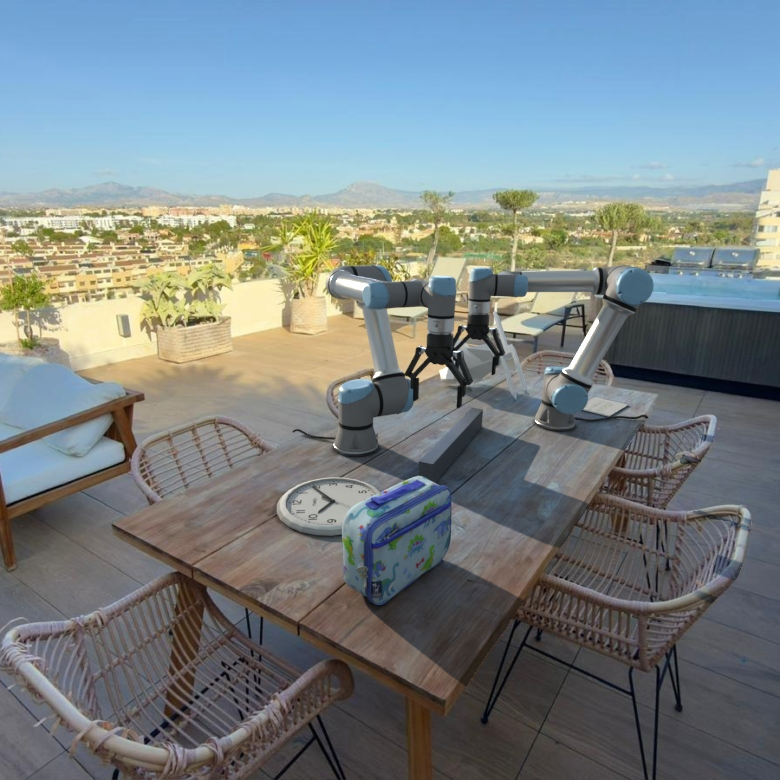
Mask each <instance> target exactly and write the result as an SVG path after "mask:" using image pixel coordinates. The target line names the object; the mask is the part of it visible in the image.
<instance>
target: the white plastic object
mask: <svg viewBox="0 0 780 780" xmlns="http://www.w3.org/2000/svg"><path fill="white" fill-rule="evenodd" d="M492 315H493V319H494V321H495V324H496V325H495V326H496V328H497V329H498V336H499V338H500V341H501V343H502V346H503V348H504V351H505V354H504V355H503V356H500V357H499V365H498V366H496V369H497V368H499V367H500V366H502V370H503V373H504V376H505V380H506V383H507V386H508V390H509V393H510V394H511V395H512V397H513V398H514V399H515V400H517V392H516V391H517V390H516V388H515V385H514V381H513V378H512V375H511V371H510V369H509V365H508V361H510V360H513V363H514V366H515V369H516V372H517V376H518V380H519V382H520V385H521V389H522V391H523V393H524V395H525V396H526V397H528V396H531V395H530V390H529V388H528V387H529V386H528V384H527V381H526V378H525V375H524V371H523V369H522V368H523V367H522V366H521V362H520V359H519V355H518V352H517V349H516V347H515V346H514V345H513V343H511V344H508V341H507V337H506V334H505V331H504V328H503V325H502V321H501V318H500V315H499V314H498V312H497V311H496V310H495V311H492ZM463 339H464V338H460V339H458V340H457V342H456V344H455V346H454V347H456V346H457V345H458V344H459V343H460V342H461V341H462V340H463ZM461 350H462V351H463V352H464V360H465V362H466V364H467V367H468V369H469V372H470V374H471V377H472V379H473V384H477V383H480V382H482V381H484V378H485V377H486V376H487V375H489V374H490V373H492V360H493V356H495V355H494V354H493V353H492V351H491V350H490V348H489V347H488V345H487V344H486V343H483V344H479V345H473V346H469V345H468V343H467V342H465V343H464V344H463V346H462V347H461V348H460V349H459V350H458V351H461ZM497 350H498V349H497ZM498 351H499V350H498ZM451 359H452V360H453V357H452V358H451ZM453 362H454V364H455V361H453ZM458 370H459V371H460V373H461V374H462V376H463V373H462V371H461V368H460V366H459V369H458ZM438 372H439V376H440V381H442V383H443V384H444V385H445V386H449V385H460V384H459V382H458V381H457V380H456V378H455V377H454V375H453V374H452V372H451V371H450V370H449V368H447V367H446V366H445V367H444V368H442V369H440V370H439V371H438ZM463 377H464V376H463Z"/></svg>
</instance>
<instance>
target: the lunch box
mask: <svg viewBox="0 0 780 780" xmlns="http://www.w3.org/2000/svg"><path fill="white" fill-rule="evenodd" d="M452 511H453V510H452V491H451V489H450V487H449V486H447V485H444V484H442V485H440V484H437V482H435V483H434V482H432V481H430V480H428V479H427V478H424V477H422V476H418V475H416V476H413V477H411V478H408V479H406V480H403V481H401V482H399V483H397V484H395V485H393V486H390V487H388V488H386V489H384V490H382V491H381V492H380V493H378V494H376V495H374V496H372V497H370V498H368V499H366V500H364V501H362V502H360V503H358V504H356V505H354V506H353V507H352V508H351V509H350V510H349V511H348V512H347V514H346V516H345V518H344V521H343V525H342V535H341V543H342V544H341V545H342V569H343V578H344V583H345V585H346V586H347V587H349V588H351V589H352V590H354V591H356V592H357V593H360V594H361V595H362V596H363V597H365V598H367V601H369V603H372V604H373V605H376V606H383V605H385V604H386V603H388V602H389V601H390V600H391V599H392V598H394V597H395V596H396V595H397V594H399V593H400V592H401V591H403V590H404V589H406V588H407V587H408V586H410V585H411V584H413V583H414V582H416V580H417V579H418V578H420V576H422V575H423V574H425V573H426V572H428V571H430V570H432V569H433V568H435V567H436V566H438V565H439V564H440V563H441V562H442V561H443V560H444V558H445V557H446V555H447V552H448V551H449V548H450V544H451V539H452V515H453V514H452Z"/></svg>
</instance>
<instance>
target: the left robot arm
mask: <svg viewBox="0 0 780 780" xmlns="http://www.w3.org/2000/svg"><path fill="white" fill-rule="evenodd" d="M325 288H326V291H327V293H328V294H329V295H330V296H331V297H332V298H335V299H338V300H352V301H355V302H356V306H357V307H358V308H359V309H361V310H362V315H363V316H362V317H363V321H364V327H365V330H366V335H367V340H368V346H369V350H370V355H371V360H372V365H373V371H374V375H373V377H372V378H371V379H368V378H356V379H351V380H348V381H345V382H344V383H342V384H341V385H340V387H339V388H338V397H337V401H338V427H337V428H338V429H337V432H336V436H322V435H321V436H319V435H313V434H311V433H308V432H306V431H304V430H303V429H299V428H295V429H293V430H292V431H291V433H295V432H299V433H301V434H303V435H305V436H308V437H309V438H313V439H318V440H319V439H320V440H333V450H334V452H336V453H338V454H339V455H341V456H347V457H364V456H365V457H366V456H369V455H372V454H374V453H376V451H378V450H379V441H378V437H379V433H376V431H375V429H374V418H379V417H384V416H392V415H400V414H403V413H407V412H409V411H410V410H411V409H412V408H413V406H414V403H415V402H416V401H418V400H419V397H420V396H419V395H420V377H418V376H419V375H420V374H421V373H422V372H423V371H424V370H425V369H426V368H427V367H428V366H429V365H430V364H432V365H439V366H444V365H445V368H446V367H447V368H449V370H450V371H451V372H452V374H453V375H454V377H455V378H456V380H457V381H458V382H459V384H458V385H457V388H456V389H457V390H456V391H457V392H456V409H460V408H461V407H463V406H462V405H463V398H464V397H465V396H466V394H467V386H470V385H472V384H474V382H473V379H472V377H471V374H470V372H469V369H468V367H467V364H466V362H465V360H464V352H463V351H462V350H461V351H453V338H454V334H453V332H454V331H455V313H456V301H457V300H456V299H457V280H456V278H455V277H454V276H447V275H432V276H431V277H429V279H428V280H425V279H422V278H420V279H418V278H417V279H416V278H415V279H411V280H398V281H393V279H392V275H391V274H390V272H389V270H388V269H387V268H386V267H384V266H383V265H377V264H369V265H367V264H366V265H365V264H363V265H341V266H337V267H336V268H333V269H332V270H331V271H330V272H329V273H328V274H327V276H326V279H325ZM420 307H421V308H426V309H427V325H426V326H427V327H426V330H427V331H428V332H427V333H426V347H424V346H423V345H419V346H416V348H415V351H414V355H413V357H412V359H411V361H410V363H409V365H408V366H407V368H406V370H405V372H404V371H403V370H401V369H400V367H399V366H400V365H399V362H398V357H397V352H396V347H395V342H394V339H393V338H394V337H393V333H392V328H391V323H390V322H391V321H390V319H389V314H388V309H398V308H402V309H403V308H420ZM424 353H425V355H426V357H427V358H426V359H425V360H424V361H423V362H422V363H421V364H420V365H419V366H418V368H416V369H415V367H416V366H417V364H418V362H419V360H420V358H421V357H422V355H423V354H424ZM453 355H454V356H455V358H456V359H457V360H458V364H459V366H460V368H461V371H462V373H463V376H464V377H463V376H462V374H461V373H460V371H459V370H458V368H457V367H456V366H455V364H454V362H453V360H452V359H451V358H452V357H453ZM406 377H408V378H406ZM307 433H308V434H307Z"/></svg>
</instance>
